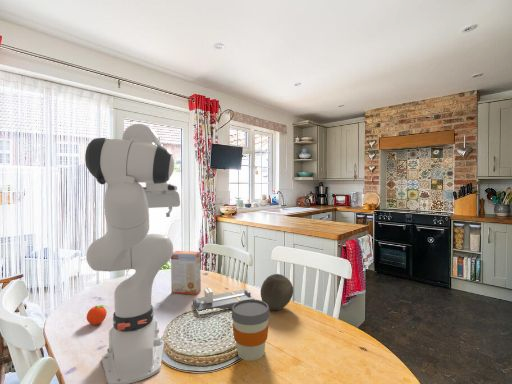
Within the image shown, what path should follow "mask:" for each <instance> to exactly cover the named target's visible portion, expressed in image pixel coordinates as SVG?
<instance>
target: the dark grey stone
mask: <svg viewBox="0 0 512 384" xmlns="http://www.w3.org/2000/svg"><path fill="white" fill-rule="evenodd" d="M293 295H294V287H293V284H292V281H291V280H290V279H288V278H287V277H286V276H285V275H283V274H280V273H274V274H271V275H269V276H267V277H266V279H265V280H263V283H262V284H261V287H260V297H261V301H263V302H265V303H267V304H268V306H269V310H272V311H279V310H282V309H283V308H285V307H287V306H288V304H289V303H290V302H291V300H292V297H293Z"/></svg>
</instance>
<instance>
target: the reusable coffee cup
mask: <svg viewBox="0 0 512 384" xmlns="http://www.w3.org/2000/svg"><path fill="white" fill-rule="evenodd" d="M231 319H232V321H233V322H232V331H233V339H234V341H235V345H236V352H237V351H238V353H237V355H238V357H239V358H240V359H242V360H244V361H256V360H259V359H261V358H263V356H264V354H265V350H266V341H267V339H268V334H269V324H270V323H269V319H270V309H269V306H268V304H267V303H265V302H263V301H262V299H261V300H260V299H255V298H254V299H247V300H242V301H239V302H237V303H235V304H234V305H233V307H232V308H231Z"/></svg>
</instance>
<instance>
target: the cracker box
mask: <svg viewBox="0 0 512 384" xmlns="http://www.w3.org/2000/svg"><path fill="white" fill-rule="evenodd" d="M170 273H171V274H170V278H171V279H170V280H171V281H170V285H171V290H170V291H171V293H172V294H181V295H194V296H195V295H197V294H199V293H200V292H201V289H202V287H201V286H202V285H201V284H202V281H201V280H202V279H201V251H193V250H192V251H191V250H190V251H185V250H174V251H173V254H172V257H171V259H170Z"/></svg>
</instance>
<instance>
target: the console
mask: <svg viewBox="0 0 512 384" xmlns="http://www.w3.org/2000/svg"><path fill="white" fill-rule="evenodd" d="M247 299H255V297H253V296H252V294H251V291H249V290H248V289H247V288H244V289H239V290H234V291H229V292H224V293H219V294H213V302H211V303H207V302H206V300H205V297H204V296H203V297H196V298H193V299H192V306H193V307H194V308H193V309H195V310H196V309H197V310H198V311H202V310H206V309H213V308H229V309H228V310H232V307H233V305H234V304H235V303H237V302H239V301H242V300H247Z"/></svg>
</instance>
